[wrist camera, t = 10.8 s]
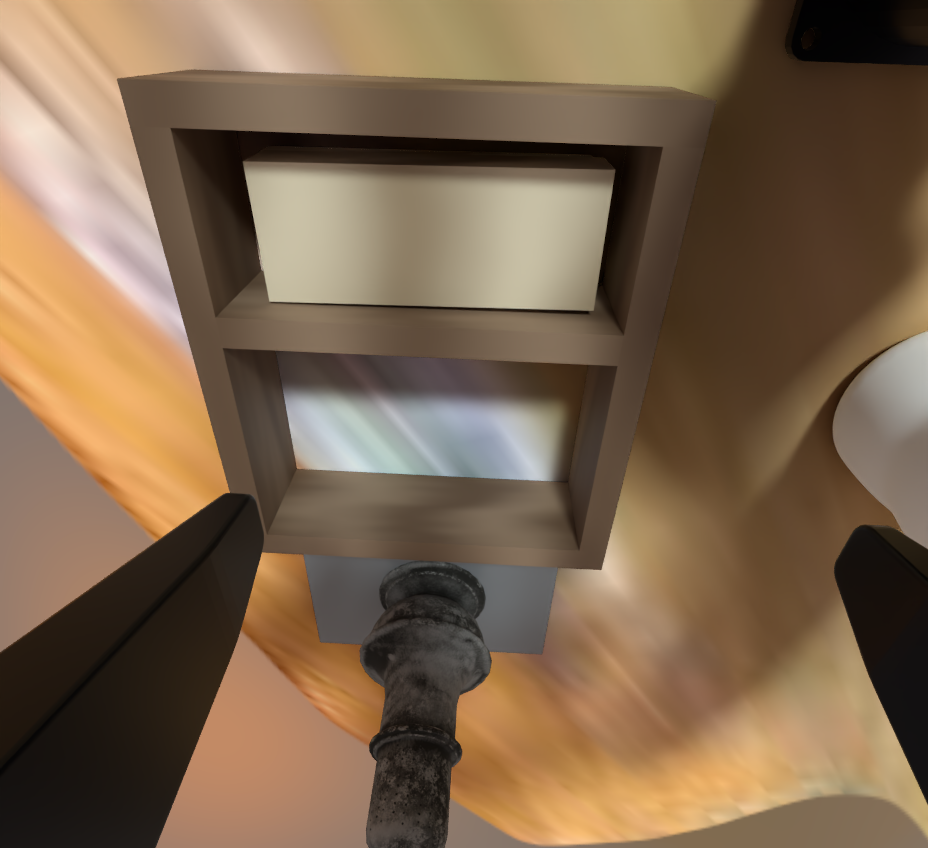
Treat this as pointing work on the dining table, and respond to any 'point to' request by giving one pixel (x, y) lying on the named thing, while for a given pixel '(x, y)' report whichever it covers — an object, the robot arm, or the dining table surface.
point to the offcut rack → (414, 327)
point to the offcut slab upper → (430, 228)
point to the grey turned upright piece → (421, 697)
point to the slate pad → (506, 586)
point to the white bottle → (890, 432)
